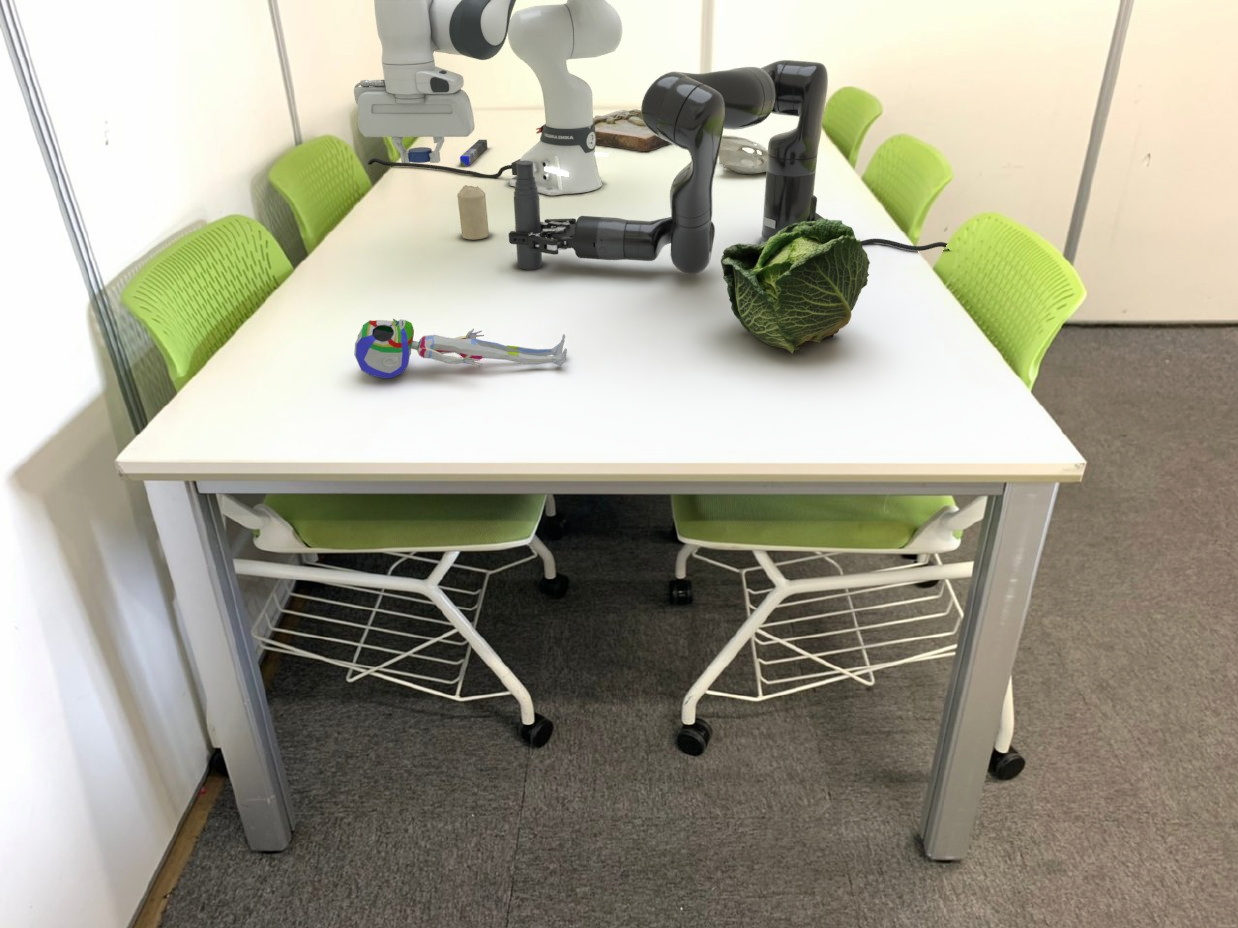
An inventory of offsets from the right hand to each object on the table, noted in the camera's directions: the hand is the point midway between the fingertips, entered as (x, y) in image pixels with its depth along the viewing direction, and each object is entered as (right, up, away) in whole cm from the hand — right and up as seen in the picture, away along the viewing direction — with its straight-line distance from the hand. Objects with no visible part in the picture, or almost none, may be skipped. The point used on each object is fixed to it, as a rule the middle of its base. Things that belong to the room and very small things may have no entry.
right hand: (514, 233), depth 166 cm
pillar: (-19, +40, +75) cm, 87 cm away
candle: (-10, +4, +18) cm, 21 cm away
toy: (-3, -29, -34) cm, 45 cm away
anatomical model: (+53, +30, +58) cm, 84 cm away
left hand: (-16, +12, -4) cm, 20 cm away
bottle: (+3, -5, +3) cm, 7 cm away
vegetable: (+46, -23, -27) cm, 58 cm away
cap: (-16, +13, -5) cm, 22 cm away
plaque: (+24, +52, +93) cm, 109 cm away
